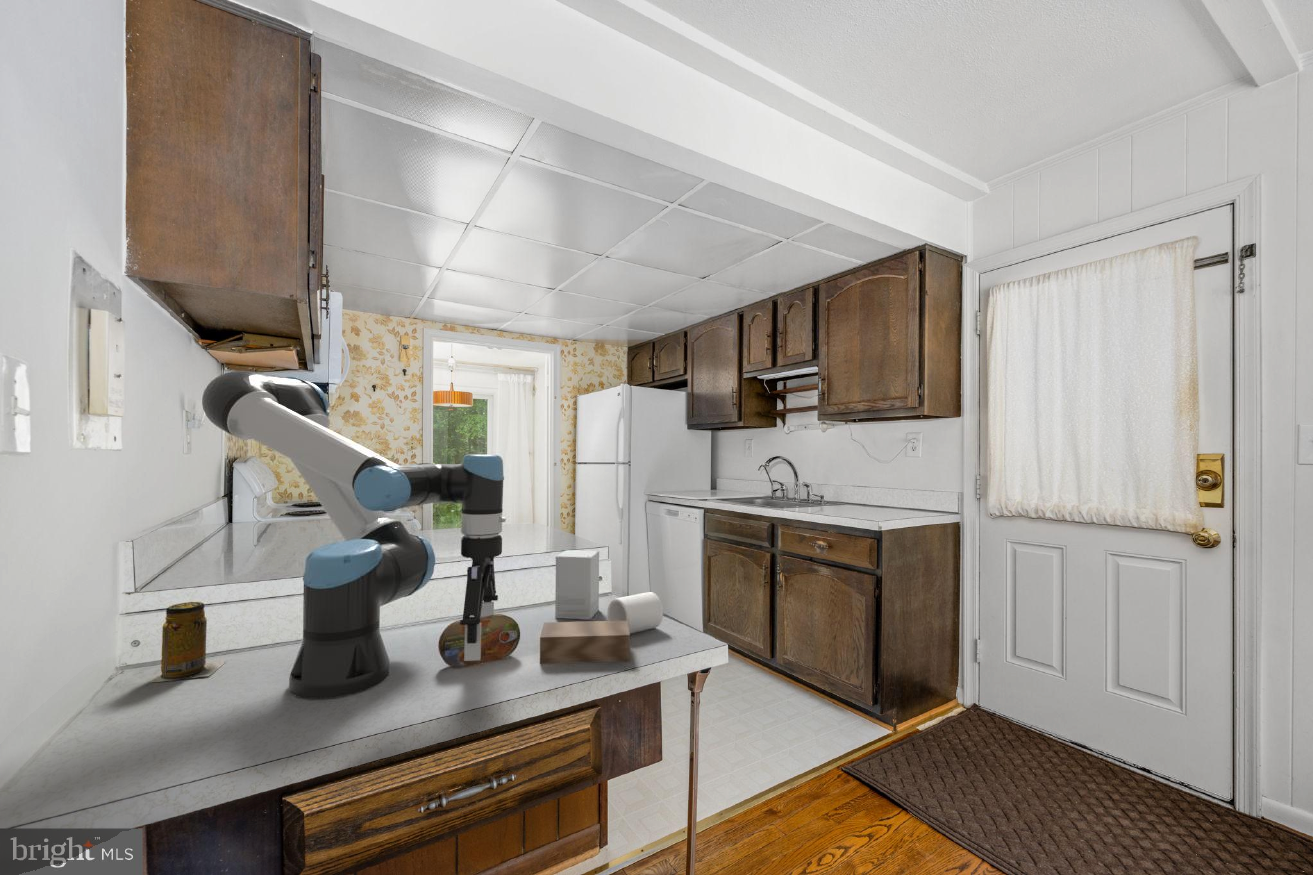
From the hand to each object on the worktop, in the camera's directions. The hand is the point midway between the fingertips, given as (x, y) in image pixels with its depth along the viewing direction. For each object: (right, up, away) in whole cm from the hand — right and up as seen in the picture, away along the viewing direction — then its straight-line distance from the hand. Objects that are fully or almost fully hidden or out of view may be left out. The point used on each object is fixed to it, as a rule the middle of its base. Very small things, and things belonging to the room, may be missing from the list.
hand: (479, 646), depth 106 cm
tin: (0, -3, 0) cm, 3 cm away
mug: (+28, -4, +20) cm, 35 cm away
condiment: (-50, -2, -7) cm, 50 cm away
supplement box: (+14, -4, +31) cm, 34 cm away
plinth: (+20, -3, +4) cm, 20 cm away
